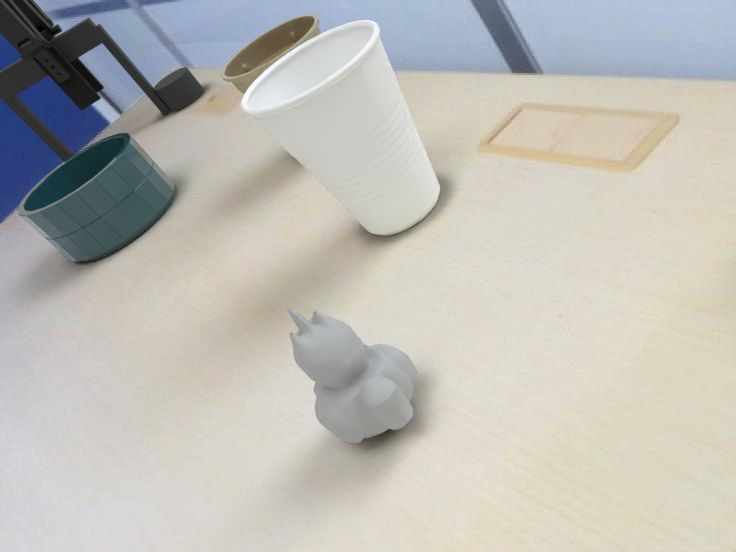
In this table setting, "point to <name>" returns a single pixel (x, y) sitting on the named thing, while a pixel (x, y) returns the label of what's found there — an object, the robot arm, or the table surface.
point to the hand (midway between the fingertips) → (92, 98)
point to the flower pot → (269, 50)
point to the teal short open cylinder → (99, 199)
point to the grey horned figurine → (353, 378)
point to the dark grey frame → (72, 44)
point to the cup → (349, 126)
